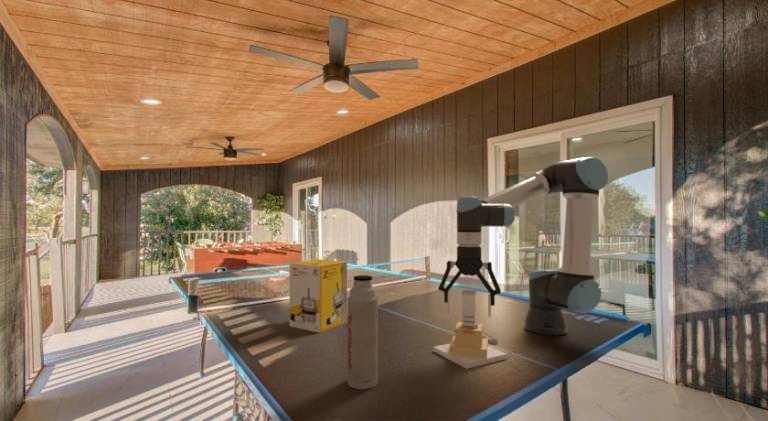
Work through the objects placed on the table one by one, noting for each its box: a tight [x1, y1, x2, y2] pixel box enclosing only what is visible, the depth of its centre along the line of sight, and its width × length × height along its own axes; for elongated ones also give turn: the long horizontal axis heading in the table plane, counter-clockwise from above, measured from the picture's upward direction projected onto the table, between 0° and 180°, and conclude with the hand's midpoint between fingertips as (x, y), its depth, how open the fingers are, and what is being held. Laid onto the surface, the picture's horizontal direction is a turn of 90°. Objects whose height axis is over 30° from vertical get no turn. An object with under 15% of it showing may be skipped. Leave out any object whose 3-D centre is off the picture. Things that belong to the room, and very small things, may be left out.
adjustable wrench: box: [483, 331, 499, 345], centre depth 142 cm, size 25×6×2 cm, turn 9°
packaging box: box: [289, 259, 348, 334], centre depth 154 cm, size 16×16×25 cm
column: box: [461, 289, 477, 329], centre depth 120 cm, size 4×4×18 cm
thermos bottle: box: [346, 274, 379, 390], centre depth 101 cm, size 8×8×28 cm
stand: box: [433, 321, 508, 370], centre depth 120 cm, size 23×23×9 cm
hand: (469, 314), depth 120 cm, fingers open, 12 cm apart
